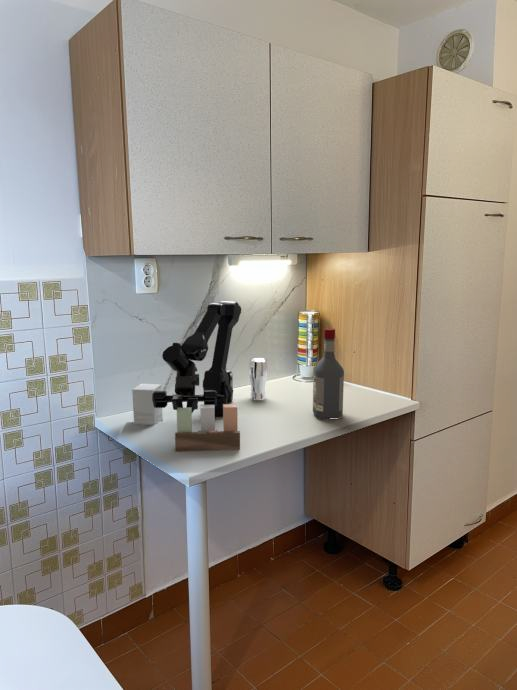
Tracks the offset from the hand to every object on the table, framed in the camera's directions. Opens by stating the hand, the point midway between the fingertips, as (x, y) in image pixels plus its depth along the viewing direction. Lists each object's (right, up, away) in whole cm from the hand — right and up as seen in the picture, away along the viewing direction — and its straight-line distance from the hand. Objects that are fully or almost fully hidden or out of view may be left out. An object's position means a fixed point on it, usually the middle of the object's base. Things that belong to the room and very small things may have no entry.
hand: (184, 425), depth 154 cm
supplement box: (-15, -3, +21) cm, 26 cm away
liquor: (+45, -1, +30) cm, 54 cm away
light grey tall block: (+7, -5, +2) cm, 9 cm away
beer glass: (+21, +2, +50) cm, 54 cm away
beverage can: (+8, +2, +46) cm, 47 cm away
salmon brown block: (+13, -5, +3) cm, 14 cm away
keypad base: (+7, -7, +1) cm, 10 cm away
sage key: (0, -6, -1) cm, 6 cm away
